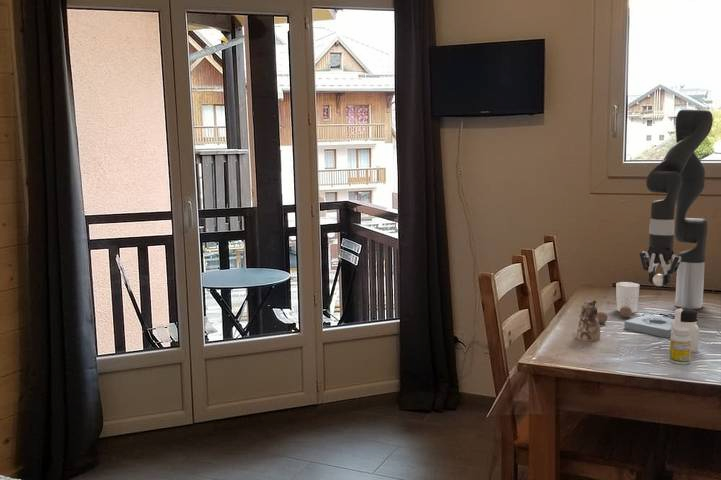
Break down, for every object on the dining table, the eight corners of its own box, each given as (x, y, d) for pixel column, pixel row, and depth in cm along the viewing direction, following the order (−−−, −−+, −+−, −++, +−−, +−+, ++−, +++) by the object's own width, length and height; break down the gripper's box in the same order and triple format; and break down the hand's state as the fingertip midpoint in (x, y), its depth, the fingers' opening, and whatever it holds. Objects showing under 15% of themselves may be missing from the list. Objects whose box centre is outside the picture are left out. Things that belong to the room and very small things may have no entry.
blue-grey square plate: (648, 321, 249) (648, 314, 249) (690, 329, 238) (691, 322, 238) (624, 328, 240) (624, 321, 240) (667, 337, 229) (667, 330, 228)
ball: (656, 284, 240) (657, 272, 239) (667, 285, 237) (668, 273, 236) (649, 285, 237) (650, 273, 237) (661, 287, 234) (662, 275, 234)
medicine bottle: (695, 346, 219) (697, 307, 218) (698, 352, 213) (700, 312, 211) (670, 344, 222) (672, 305, 220) (671, 350, 215) (674, 311, 213)
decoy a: (623, 315, 258) (623, 304, 257) (633, 317, 255) (634, 306, 254) (617, 317, 255) (617, 306, 255) (627, 319, 252) (628, 308, 252)
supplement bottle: (686, 366, 200) (688, 332, 199) (666, 362, 204) (668, 329, 202) (692, 361, 204) (694, 328, 203) (672, 358, 208) (674, 325, 206)
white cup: (639, 313, 260) (641, 286, 259) (616, 313, 261) (618, 286, 260) (636, 308, 268) (637, 282, 266) (613, 308, 269) (614, 281, 268)
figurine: (571, 336, 231) (573, 299, 229) (589, 334, 234) (591, 297, 232) (586, 342, 225) (588, 304, 223) (604, 339, 227) (606, 302, 226)
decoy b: (599, 321, 250) (599, 309, 250) (609, 323, 247) (610, 311, 247) (592, 322, 248) (593, 311, 247) (602, 325, 245) (603, 313, 244)
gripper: (688, 233, 232) (685, 286, 234) (647, 229, 243) (645, 280, 245) (676, 235, 227) (673, 289, 229) (635, 231, 238) (632, 282, 240)
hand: (659, 284), depth 237 cm, fingers closed on ball, 4 cm apart
